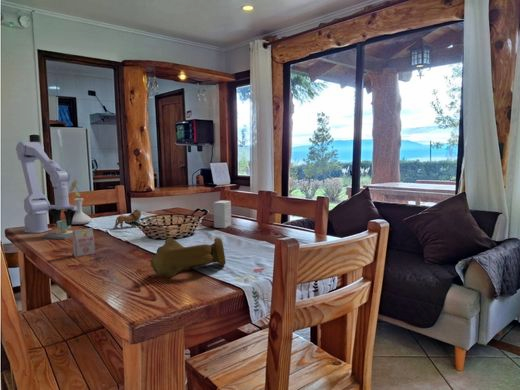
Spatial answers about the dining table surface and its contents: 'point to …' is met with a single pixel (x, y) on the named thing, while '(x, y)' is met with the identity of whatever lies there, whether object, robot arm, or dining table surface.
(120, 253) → the dining table surface
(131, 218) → the lion figurine
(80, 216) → the flower in vase
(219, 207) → the small box
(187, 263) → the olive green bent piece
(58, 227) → the ring
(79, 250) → the grey printed carton
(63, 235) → the post stand
